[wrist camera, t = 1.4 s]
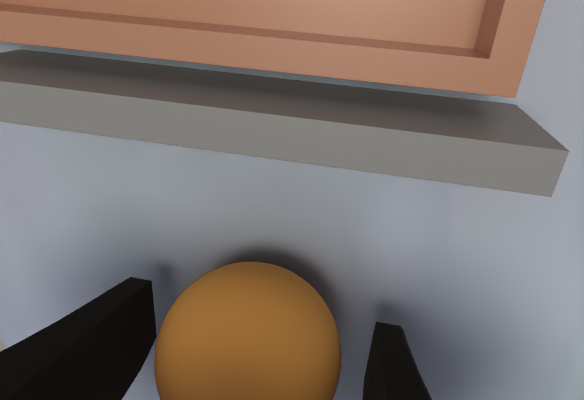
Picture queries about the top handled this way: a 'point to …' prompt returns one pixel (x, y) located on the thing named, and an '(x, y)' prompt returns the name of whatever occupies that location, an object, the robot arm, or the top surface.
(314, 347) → the ball
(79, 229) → the top surface
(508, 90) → the tray
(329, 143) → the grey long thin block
